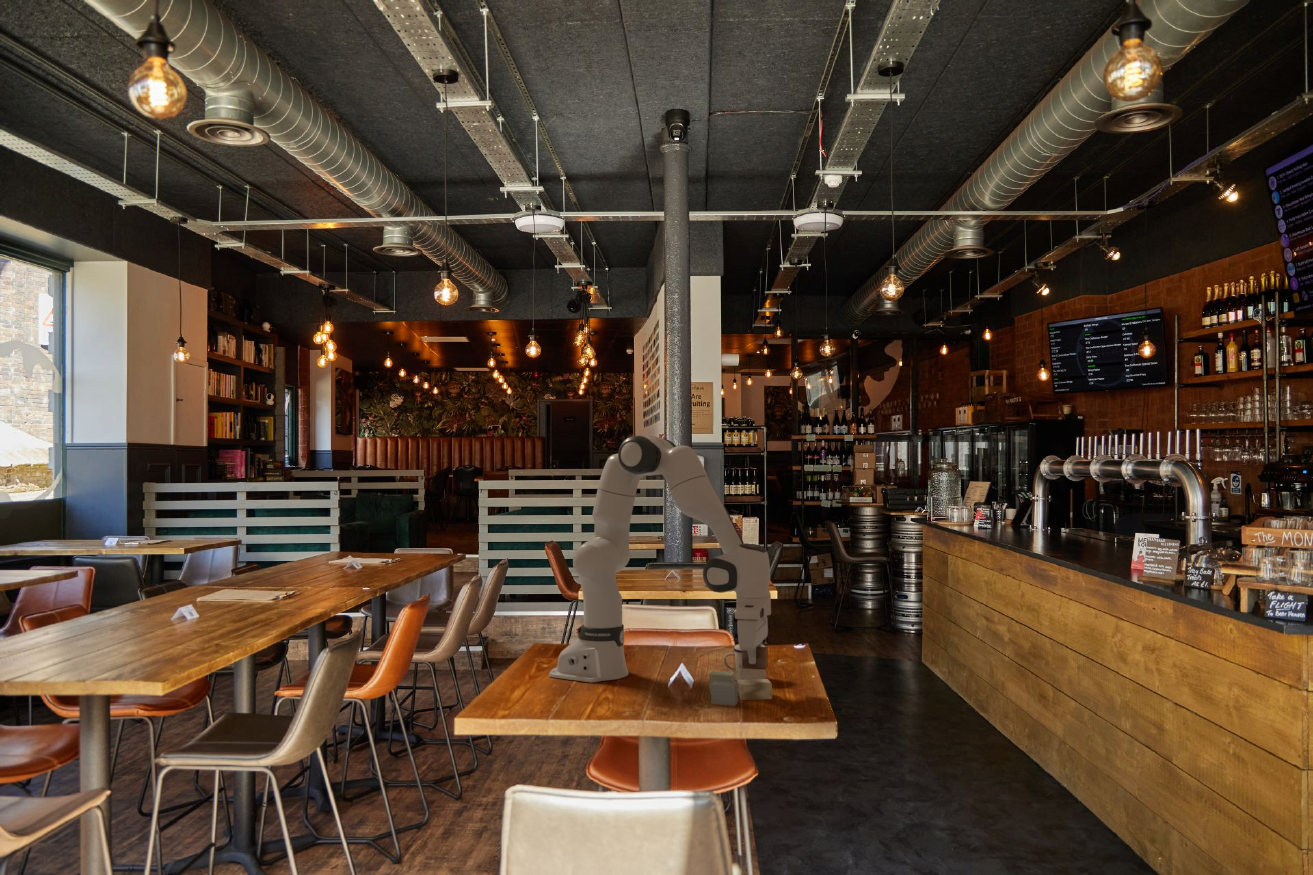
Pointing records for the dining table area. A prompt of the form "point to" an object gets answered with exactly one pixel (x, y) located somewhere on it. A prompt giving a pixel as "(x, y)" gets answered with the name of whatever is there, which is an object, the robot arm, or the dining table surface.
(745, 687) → the maple block
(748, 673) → the teacup with lid
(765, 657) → the walnut block
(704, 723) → the dining table surface
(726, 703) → the grey block
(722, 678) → the sage block
